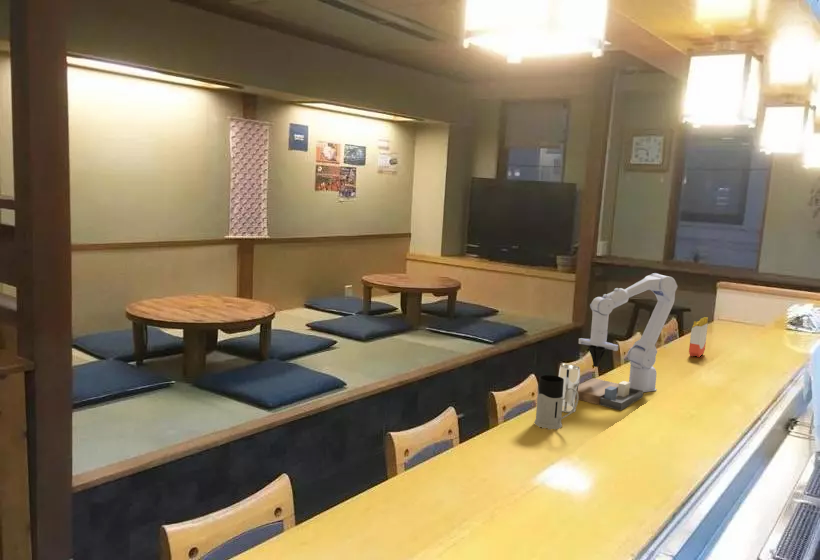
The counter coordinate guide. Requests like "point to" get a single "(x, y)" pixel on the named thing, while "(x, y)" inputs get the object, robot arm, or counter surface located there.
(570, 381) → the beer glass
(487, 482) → the counter surface
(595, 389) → the walnut board
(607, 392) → the blue-gray block
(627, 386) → the white tile
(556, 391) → the grey black mug
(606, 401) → the tray
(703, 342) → the french fries container
